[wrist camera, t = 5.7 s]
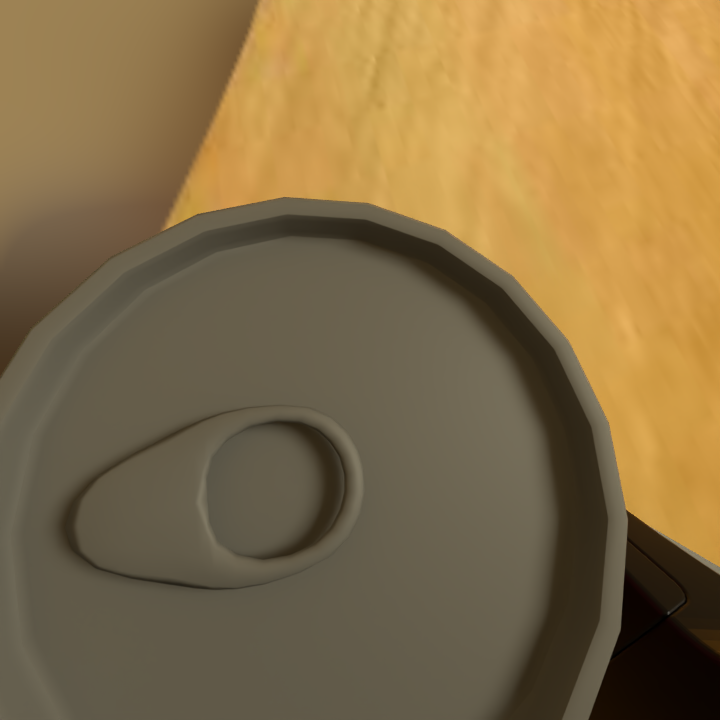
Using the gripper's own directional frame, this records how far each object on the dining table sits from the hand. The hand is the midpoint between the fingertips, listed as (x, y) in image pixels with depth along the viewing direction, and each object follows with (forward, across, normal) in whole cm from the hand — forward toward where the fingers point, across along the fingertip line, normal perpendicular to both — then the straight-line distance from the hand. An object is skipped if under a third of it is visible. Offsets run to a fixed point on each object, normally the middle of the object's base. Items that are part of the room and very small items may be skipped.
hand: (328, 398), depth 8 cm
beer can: (+4, 0, +6) cm, 7 cm away
